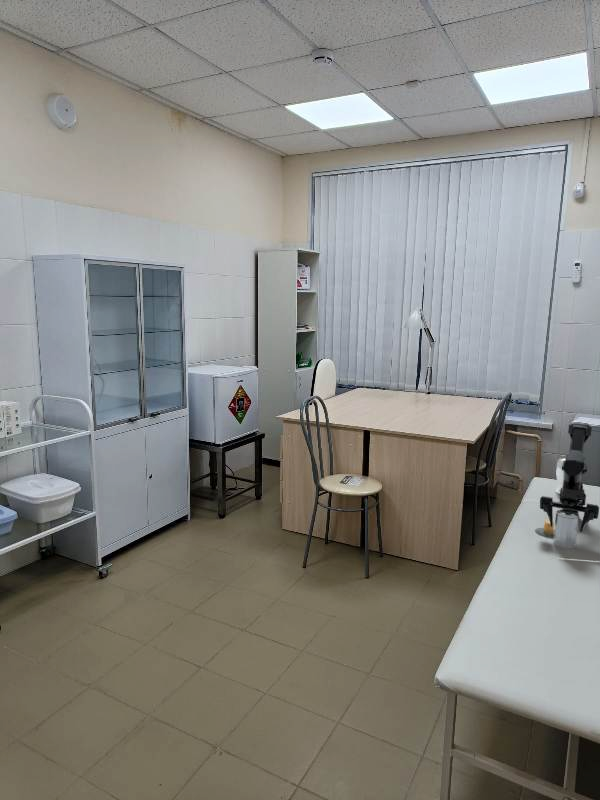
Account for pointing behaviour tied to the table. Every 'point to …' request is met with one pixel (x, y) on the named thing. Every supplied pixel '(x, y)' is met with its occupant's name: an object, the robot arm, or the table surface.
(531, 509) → the table surface
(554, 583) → the table surface
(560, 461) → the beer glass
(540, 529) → the rubber pad
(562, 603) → the table surface
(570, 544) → the grey cup
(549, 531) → the orange egg shape
